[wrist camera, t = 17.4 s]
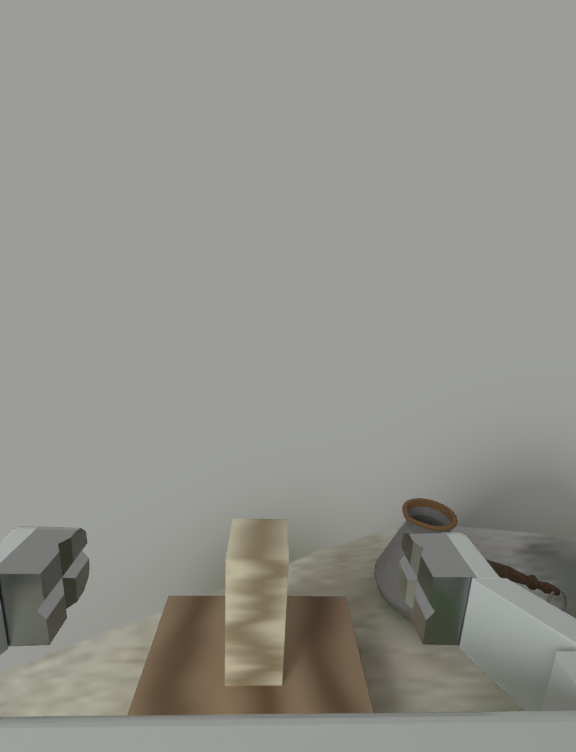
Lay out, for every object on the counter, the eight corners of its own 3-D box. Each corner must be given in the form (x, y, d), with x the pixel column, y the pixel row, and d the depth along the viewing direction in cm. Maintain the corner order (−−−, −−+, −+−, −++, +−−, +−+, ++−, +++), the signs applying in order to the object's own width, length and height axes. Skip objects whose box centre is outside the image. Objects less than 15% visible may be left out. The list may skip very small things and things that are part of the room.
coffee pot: (356, 577, 51) (366, 480, 47) (421, 559, 55) (434, 469, 52) (484, 755, 31) (517, 614, 28) (570, 707, 36) (607, 578, 32)
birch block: (224, 685, 31) (225, 557, 28) (231, 633, 36) (232, 518, 33) (282, 685, 32) (288, 558, 29) (280, 633, 36) (286, 519, 34)
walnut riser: (119, 799, 28) (115, 751, 27) (169, 632, 41) (168, 595, 40) (375, 793, 29) (381, 746, 28) (342, 632, 42) (345, 596, 41)
